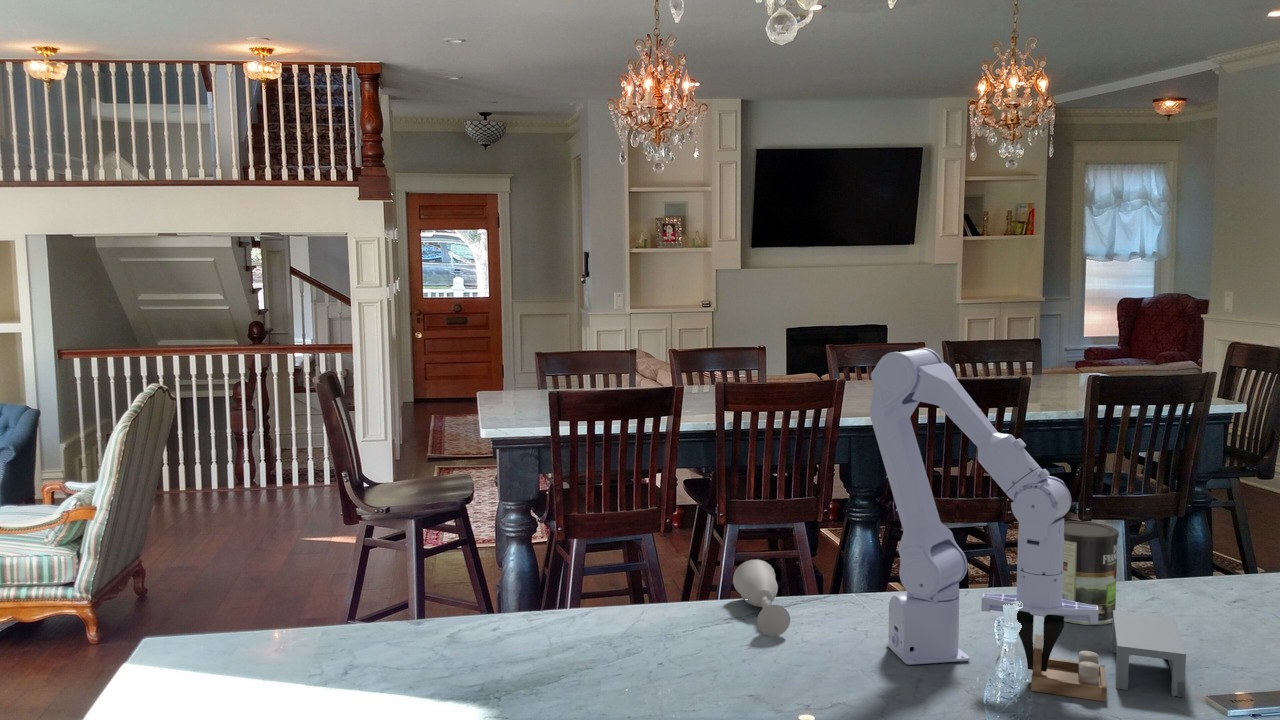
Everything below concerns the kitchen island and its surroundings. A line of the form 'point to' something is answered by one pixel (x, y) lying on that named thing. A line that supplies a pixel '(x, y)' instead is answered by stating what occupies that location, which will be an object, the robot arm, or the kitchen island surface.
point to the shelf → (1148, 645)
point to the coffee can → (1090, 567)
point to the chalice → (762, 595)
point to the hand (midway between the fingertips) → (1037, 667)
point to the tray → (1069, 675)
